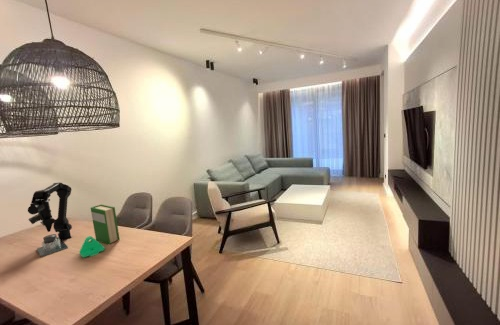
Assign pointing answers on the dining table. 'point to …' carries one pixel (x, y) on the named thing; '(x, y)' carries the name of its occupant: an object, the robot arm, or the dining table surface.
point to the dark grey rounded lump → (50, 238)
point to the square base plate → (51, 247)
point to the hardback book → (105, 223)
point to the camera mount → (91, 247)
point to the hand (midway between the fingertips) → (48, 231)
